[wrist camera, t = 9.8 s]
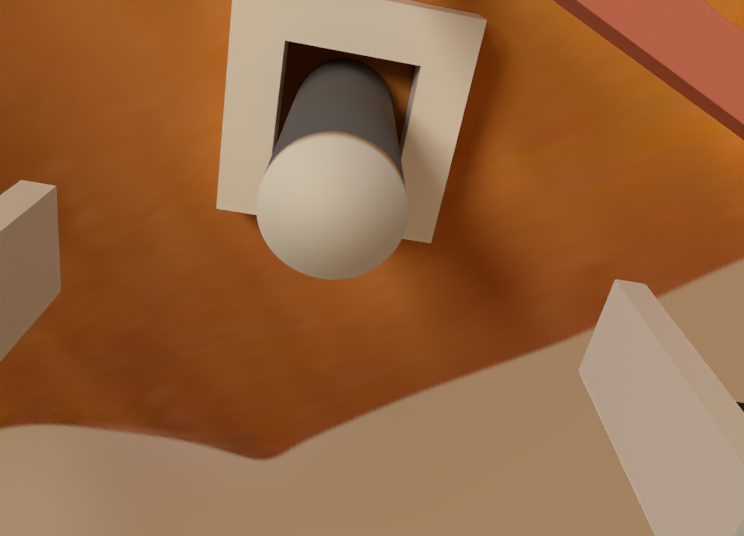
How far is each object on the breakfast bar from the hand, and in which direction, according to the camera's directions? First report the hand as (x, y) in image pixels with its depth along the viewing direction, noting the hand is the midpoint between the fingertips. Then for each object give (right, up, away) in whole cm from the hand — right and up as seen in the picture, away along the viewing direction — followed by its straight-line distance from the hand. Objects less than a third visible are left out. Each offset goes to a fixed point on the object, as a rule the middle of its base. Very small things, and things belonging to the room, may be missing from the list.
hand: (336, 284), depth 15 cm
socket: (0, +10, +13) cm, 16 cm away
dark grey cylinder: (0, +8, +14) cm, 16 cm away
